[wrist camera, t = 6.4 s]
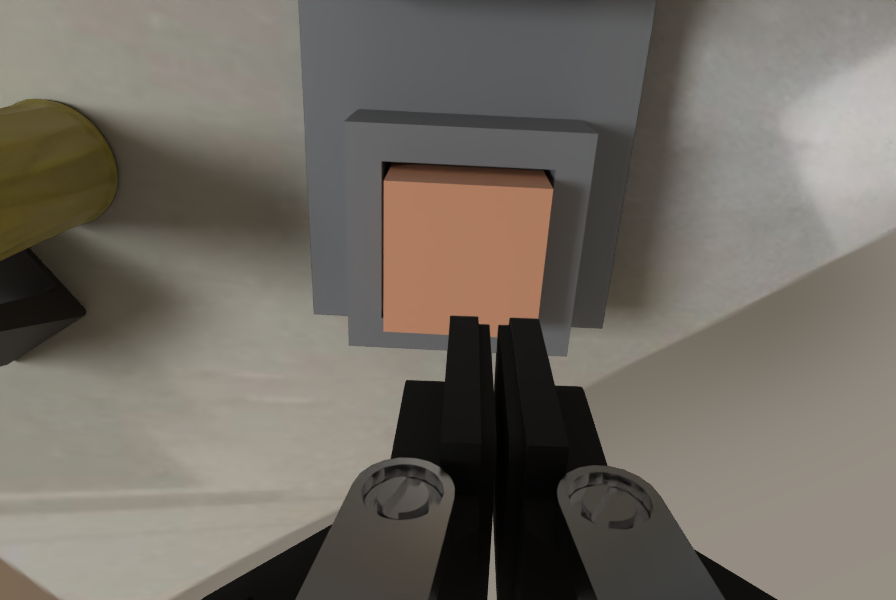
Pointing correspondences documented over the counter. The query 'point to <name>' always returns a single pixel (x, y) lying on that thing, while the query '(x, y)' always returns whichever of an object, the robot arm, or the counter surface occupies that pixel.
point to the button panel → (469, 134)
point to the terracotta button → (463, 245)
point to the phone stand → (31, 305)
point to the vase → (50, 173)
